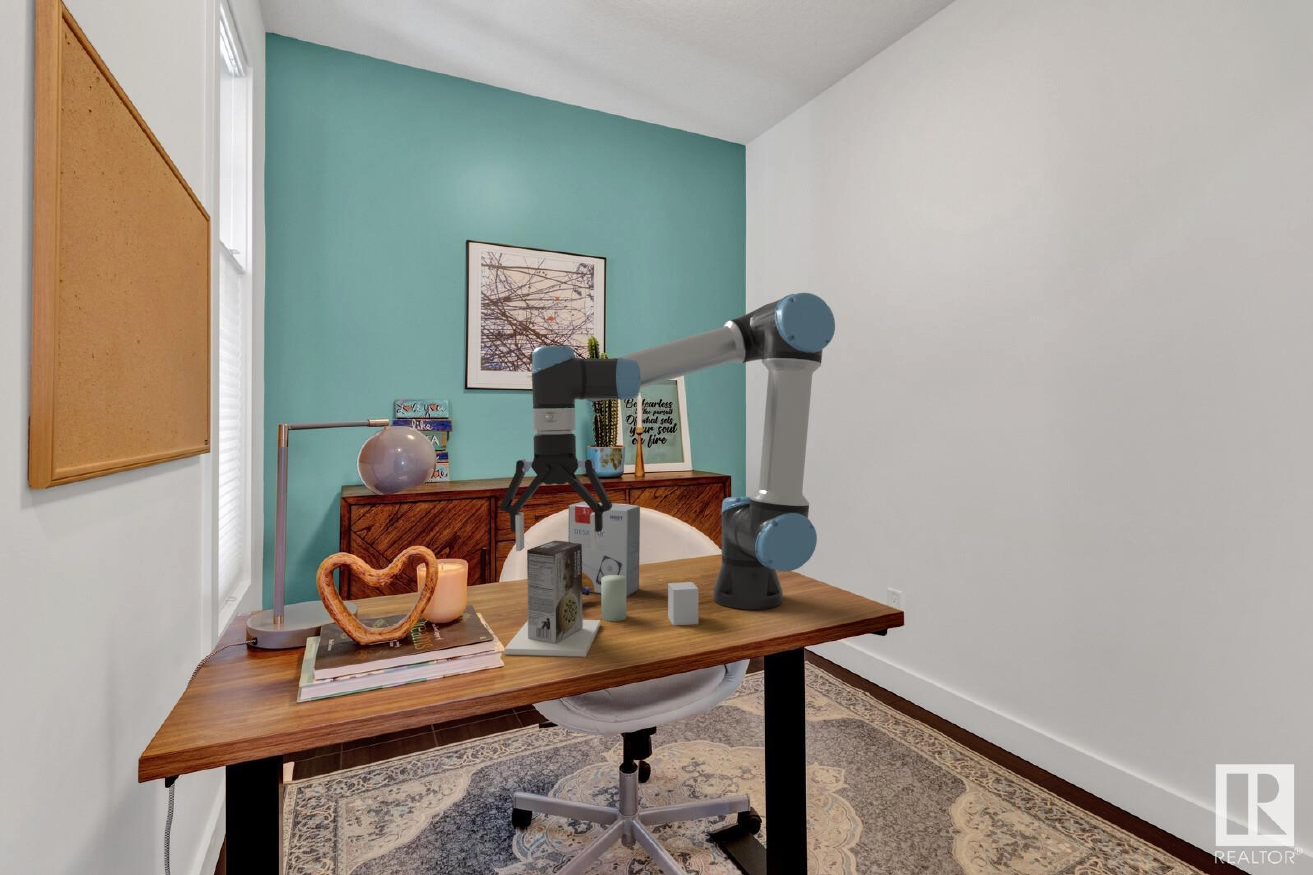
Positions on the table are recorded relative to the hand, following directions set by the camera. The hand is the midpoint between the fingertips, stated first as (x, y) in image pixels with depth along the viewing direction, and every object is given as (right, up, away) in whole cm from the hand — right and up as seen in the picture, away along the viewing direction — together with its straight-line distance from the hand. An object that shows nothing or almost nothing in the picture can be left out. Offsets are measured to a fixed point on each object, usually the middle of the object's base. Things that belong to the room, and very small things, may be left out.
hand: (557, 549), depth 115 cm
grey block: (+23, -16, +11) cm, 30 cm away
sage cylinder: (+9, -16, +13) cm, 23 cm away
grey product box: (0, -16, 0) cm, 16 cm away
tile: (0, -16, 0) cm, 16 cm away
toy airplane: (-1, -16, +20) cm, 25 cm away
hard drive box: (+6, -16, +33) cm, 37 cm away
